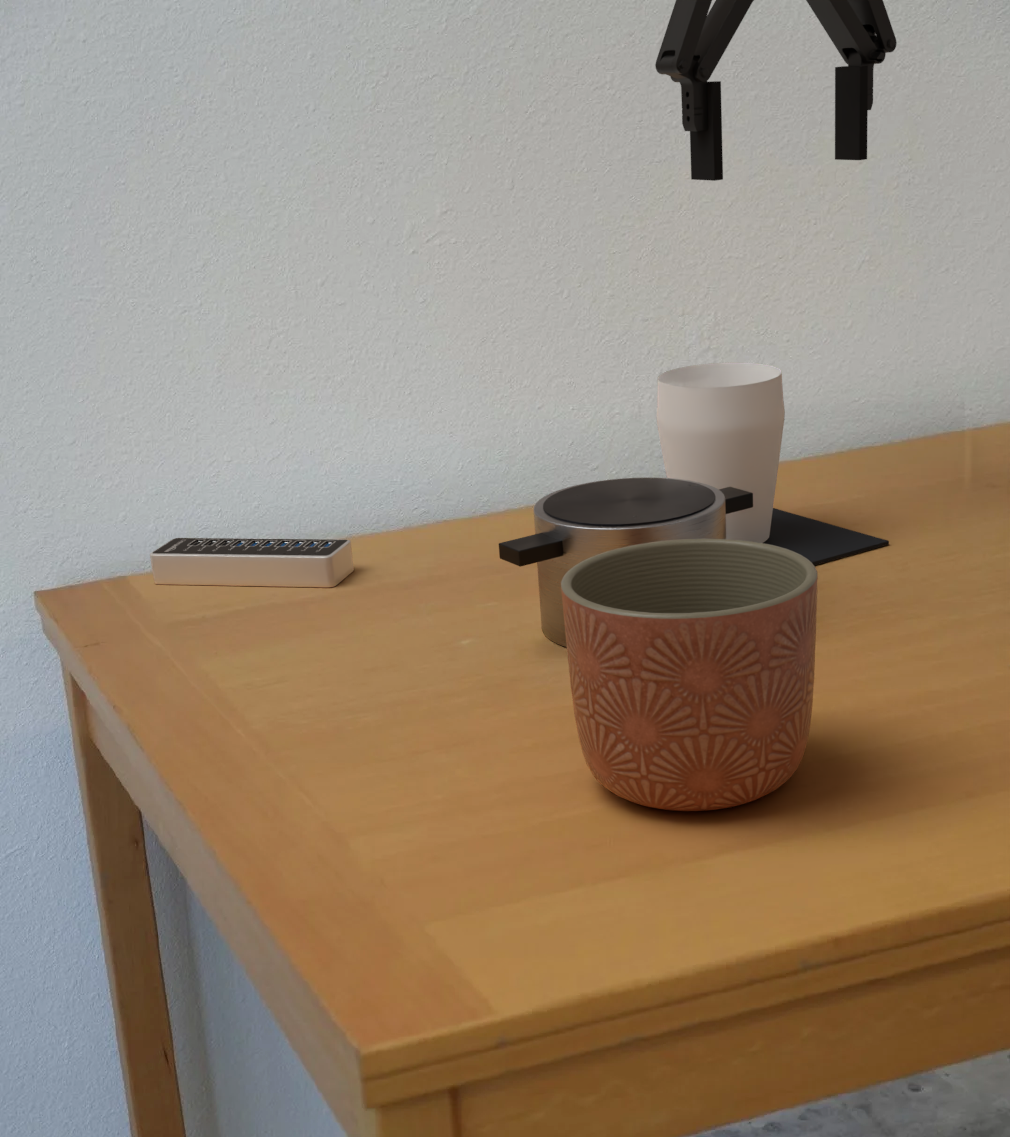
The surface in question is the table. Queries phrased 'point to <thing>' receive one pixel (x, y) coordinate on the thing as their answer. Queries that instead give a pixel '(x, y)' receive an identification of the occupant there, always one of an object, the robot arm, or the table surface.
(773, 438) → the cup
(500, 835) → the table surface
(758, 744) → the planter
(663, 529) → the steel pot
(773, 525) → the mat
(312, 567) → the multiport hub
